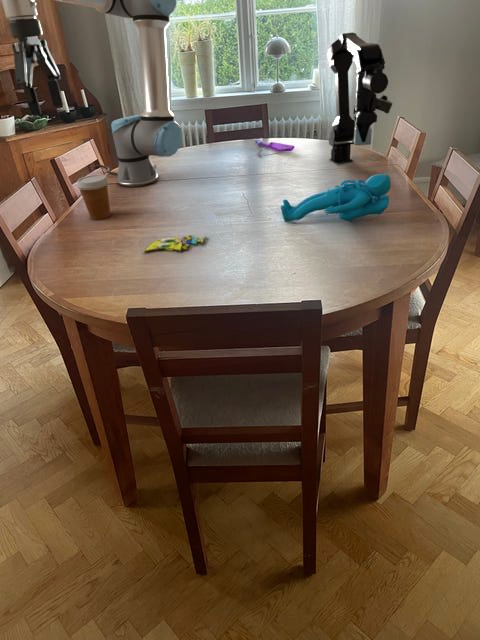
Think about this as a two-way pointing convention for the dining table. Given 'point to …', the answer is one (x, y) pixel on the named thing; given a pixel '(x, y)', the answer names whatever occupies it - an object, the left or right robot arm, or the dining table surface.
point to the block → (358, 139)
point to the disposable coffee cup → (95, 195)
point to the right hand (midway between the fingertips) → (362, 140)
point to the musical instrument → (275, 146)
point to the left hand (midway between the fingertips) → (48, 110)
